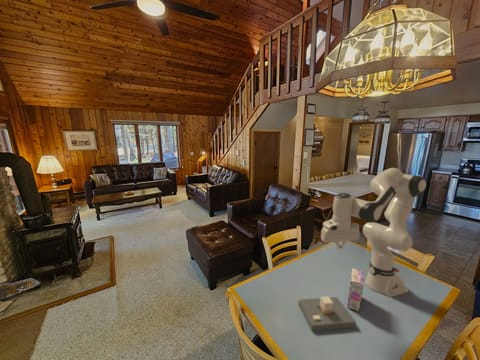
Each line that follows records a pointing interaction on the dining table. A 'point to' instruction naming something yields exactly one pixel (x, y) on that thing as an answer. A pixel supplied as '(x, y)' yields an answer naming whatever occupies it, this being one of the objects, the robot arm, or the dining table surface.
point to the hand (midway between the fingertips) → (339, 248)
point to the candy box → (355, 290)
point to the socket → (325, 322)
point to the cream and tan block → (326, 305)
